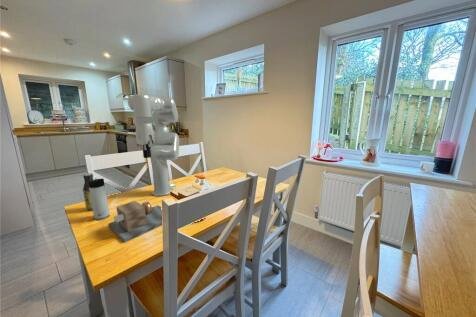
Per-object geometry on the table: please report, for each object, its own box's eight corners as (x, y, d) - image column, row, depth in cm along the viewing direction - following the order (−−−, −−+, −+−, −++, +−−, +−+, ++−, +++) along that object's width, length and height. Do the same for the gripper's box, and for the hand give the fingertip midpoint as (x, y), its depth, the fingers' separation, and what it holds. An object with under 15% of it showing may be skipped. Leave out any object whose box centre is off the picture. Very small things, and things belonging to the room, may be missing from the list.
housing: (158, 207, 107) (156, 190, 104) (176, 218, 96) (175, 199, 93) (108, 226, 88) (105, 206, 86) (124, 242, 77) (121, 220, 75)
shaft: (146, 211, 95) (145, 200, 94) (152, 215, 92) (151, 203, 90) (113, 223, 84) (111, 211, 83) (119, 228, 81) (117, 215, 79)
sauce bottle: (85, 208, 105) (79, 173, 101) (99, 205, 110) (93, 171, 105) (87, 212, 101) (80, 176, 96) (101, 208, 105) (95, 174, 101)
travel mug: (102, 221, 93) (95, 181, 89) (91, 219, 94) (84, 180, 90) (113, 214, 99) (107, 177, 95) (102, 213, 100) (96, 176, 96)
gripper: (129, 120, 96) (133, 156, 100) (143, 121, 87) (147, 161, 91) (144, 120, 101) (147, 154, 105) (158, 121, 92) (162, 158, 96)
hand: (147, 157), depth 98 cm, fingers closed
